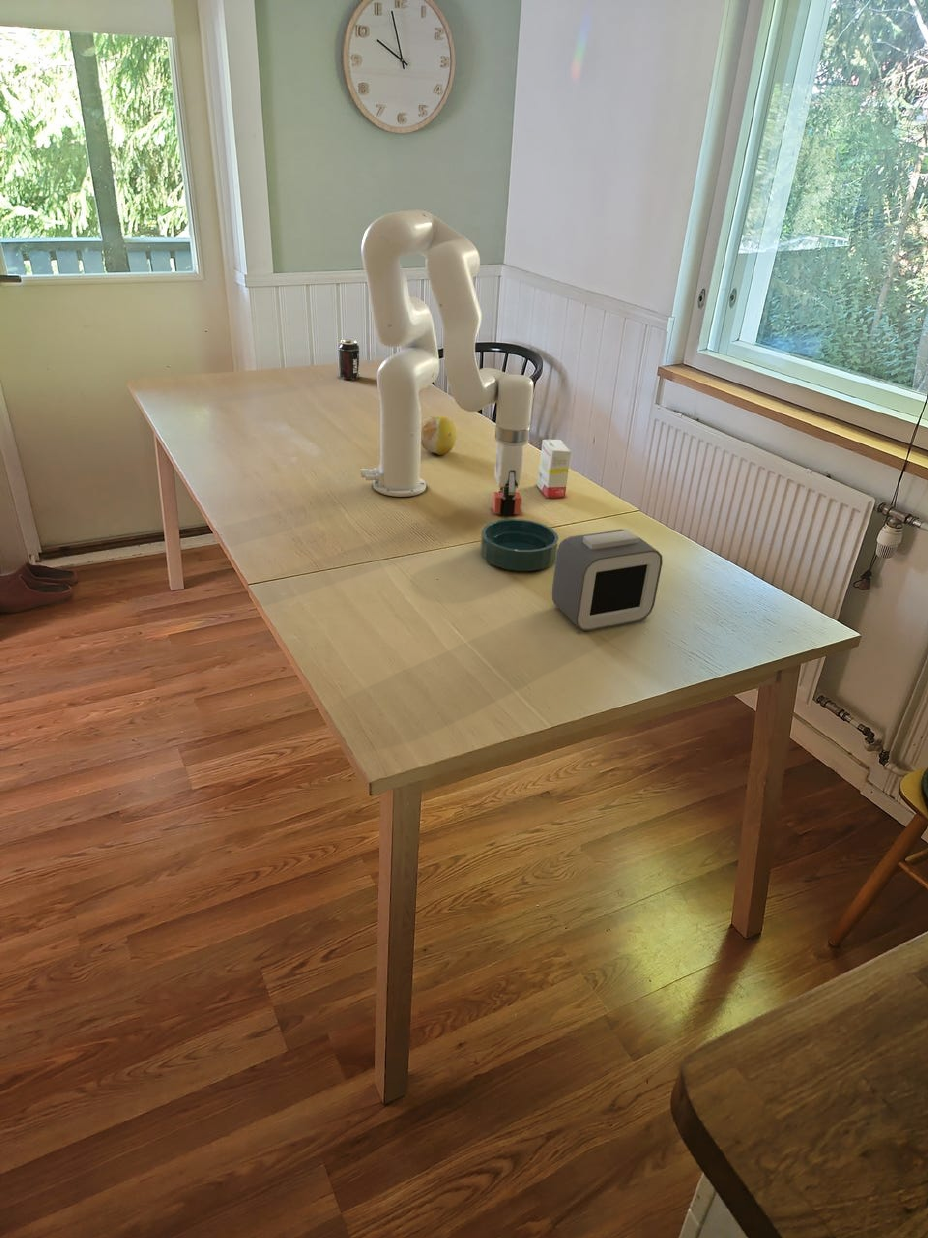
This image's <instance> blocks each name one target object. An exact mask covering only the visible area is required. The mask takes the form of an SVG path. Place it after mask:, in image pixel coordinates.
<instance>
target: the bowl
mask: <svg viewBox="0 0 928 1238" xmlns="http://www.w3.org/2000/svg"><path fill="white" fill-rule="evenodd" d="M559 540H560V538H559V534H558V533H557V532H556V531H555V530H553V528H552V527H549V526H547V525H546V524H544V523H540V522H537V521H534V520H528V519H520V518H506V519H499V520H495V521H492V522H489V523H488V524H486V525H485V526H484V527H483V528H482V530H481V533H480V547H479V551H480V556H481V557H483V559H484V560H485V561H486V562H488V563H490V564H491V565H494V566H496V567H498V568H502V569H505V570H509V571H517V572H531V571H538V570H539V571H540V570H543V569H545V568H548V567H550V566H552V564H555V561H556V553H557V549H558V546H559Z"/></svg>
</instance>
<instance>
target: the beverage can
mask: <svg viewBox="0 0 928 1238" xmlns="http://www.w3.org/2000/svg"><path fill="white" fill-rule="evenodd" d="M339 341H340V342H339V344H338V346H337V348H338V349H337V351H338V353H337V354H338V377H339V378H341V379H342V380H345V381H353V380H357V379H358V378H359V377H360V346H359V344H358V341H357V340H355V339H341V340H339Z"/></svg>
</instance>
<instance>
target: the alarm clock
mask: <svg viewBox="0 0 928 1238" xmlns="http://www.w3.org/2000/svg"><path fill="white" fill-rule="evenodd" d="M662 569H663V555H662V554H661V553H660V551H658V550H657V549H656V548H655V547H653V546H652V545H650V544H649V543H648V542H647V541H645V540H644V539H642V538H641V537H640V536H638V535H637V534H636V533H634V532H633V531H631V530H630V529H614V530H606V531H599V532H592V533H585V534H578V535H573V536H572V535H570V536H568V537H566V538H563V540H561V541H560V543H558V548H557V553H556V559H555V562H554V569H553V577H552V585H551V593H550V594H551V600H552V602H553V604H554V605H555V606H556V607H557V608H558V610H560V611H561V612H562V613H563V614H564V615H565V616H566V617H567V618H568V620H570V621H571V622H572V623H573V624H574V625H575V626H576V627H577V628H578V629H580V630H581V631H583V632H592V631H596V630H602V629H607V628H612V627H617V626H622V625H627V624H632V623H638V622H641V621H643V620H645V619H646V618H647V617H649V615H651V613H652V611H653V610H654V607H655V602H656V598H657V593H658V587H659V582H660V578H661V574H662Z"/></svg>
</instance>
